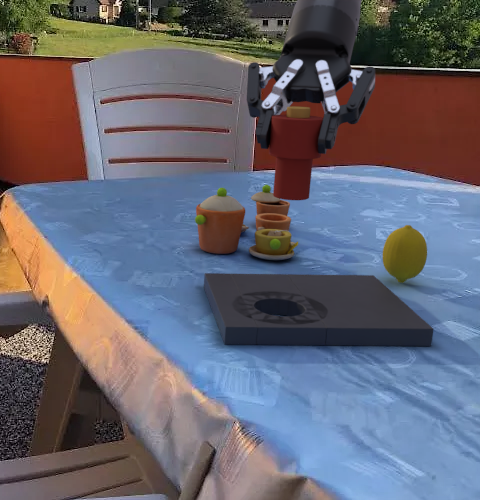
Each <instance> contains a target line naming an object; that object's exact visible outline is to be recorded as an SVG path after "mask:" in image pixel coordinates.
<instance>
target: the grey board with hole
mask: <svg viewBox="0 0 480 500" xmlns="http://www.w3.org/2000/svg"><path fill="white" fill-rule="evenodd" d="M203 290H204V292H205V296H206V298H207V300H208V303H209V306H210V309H211V311H212V314H213V316H214V320H215V322H216V325H217V328H218V330H219V333H220V336H221V339H222V341H223V343H224V345H235V346H236V345H237V346H238V345H241V346H243V345H245V346H253V345H254V346H255V345H259V346H260V345H261V346H263V345H268V346H373V347H377V346H379V347H381V346H383V347H387V346H388V347H394V346H395V347H432V343H433V337H434V327H432V325H430V324H429V323H428V322H427V321H426V320H424V319H423V318H422V317H421V316H420V315H419V314H418V313H417V312H415V311H414V310H413V309H412V308H411V307H410V306H409V305H408V304H407V303H405V302H404V301H403V299H401V298H400V297H399V296H397V294H396V293H394V292H393V291H392V290H391V289H390V288H388V286H386V285H385V284H384V283H383V282H382V281H381V280H380V279H378V278H377V277H376V276H375V275H373V274H302V273H301V274H296V273H295V274H294V273H293V274H292V273H288V274H287V273H282V274H281V273H225V272H224V273H221V272H219V273H217V272H215V273H213V272H208V273H207V272H205V273H204V278H203Z"/></svg>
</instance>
